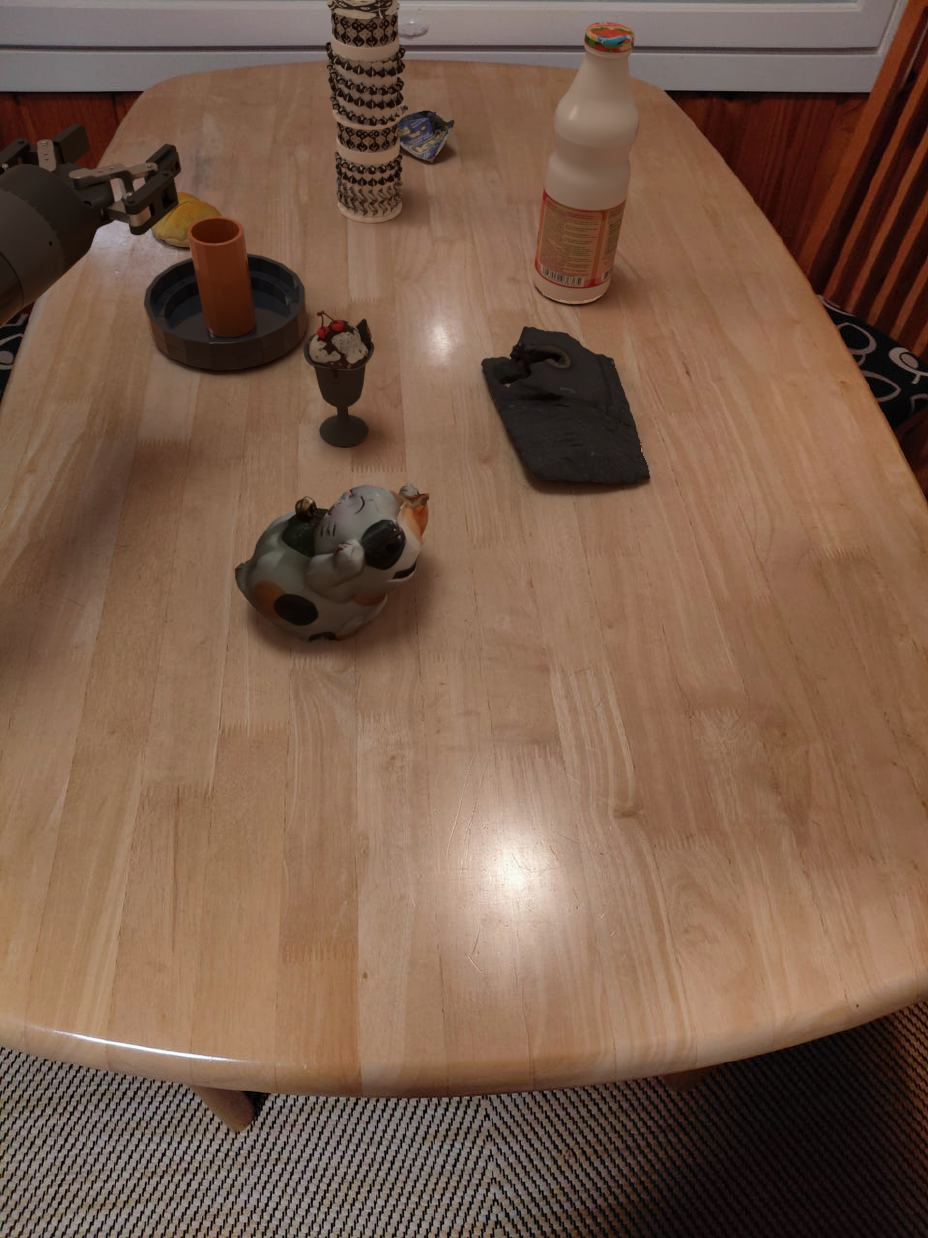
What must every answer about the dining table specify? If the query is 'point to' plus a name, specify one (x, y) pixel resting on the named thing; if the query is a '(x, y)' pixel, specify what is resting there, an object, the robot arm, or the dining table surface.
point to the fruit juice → (588, 170)
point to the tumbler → (222, 275)
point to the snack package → (423, 133)
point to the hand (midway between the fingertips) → (128, 145)
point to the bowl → (191, 343)
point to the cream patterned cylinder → (366, 107)
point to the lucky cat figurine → (335, 561)
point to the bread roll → (182, 219)
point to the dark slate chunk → (566, 410)
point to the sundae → (340, 375)
